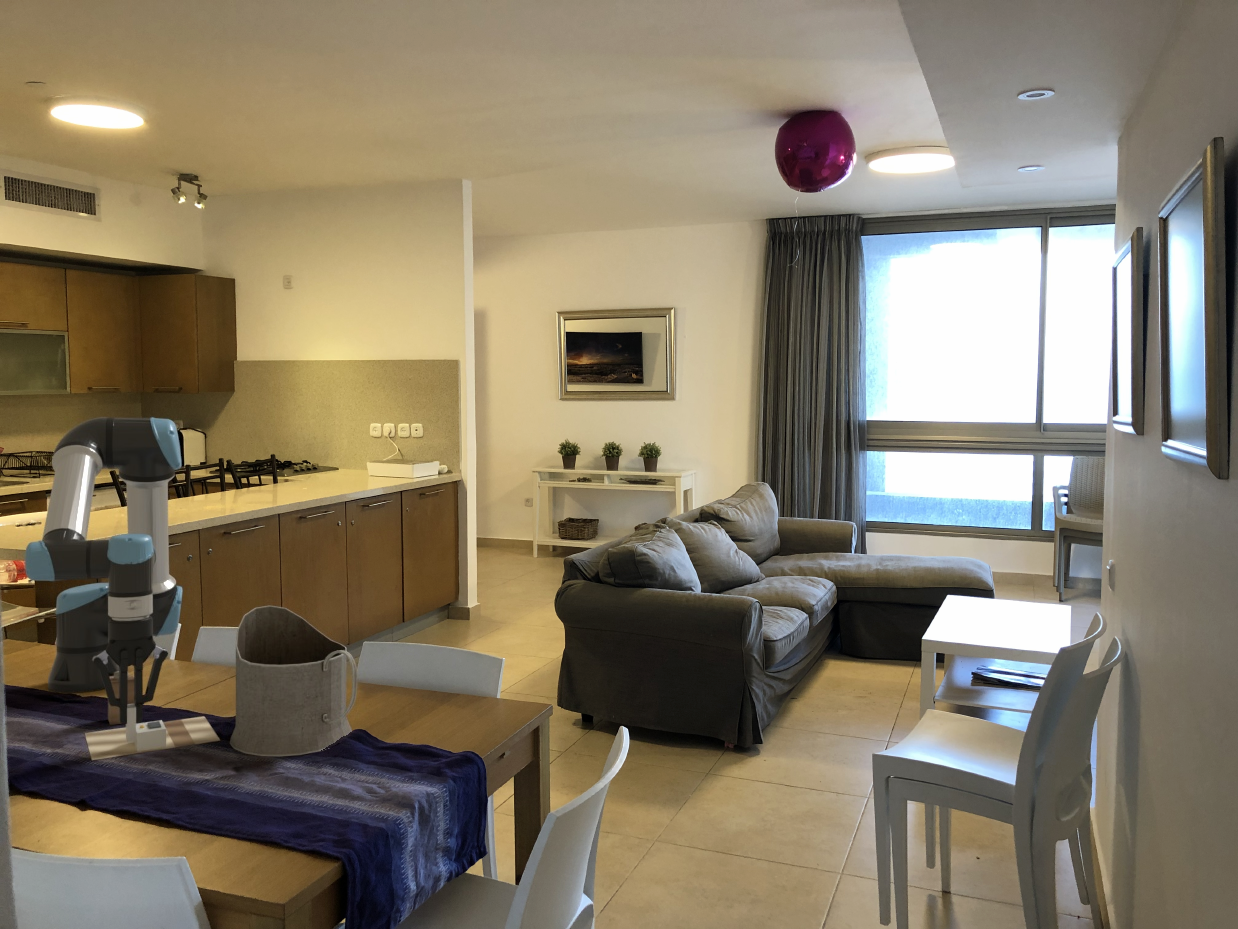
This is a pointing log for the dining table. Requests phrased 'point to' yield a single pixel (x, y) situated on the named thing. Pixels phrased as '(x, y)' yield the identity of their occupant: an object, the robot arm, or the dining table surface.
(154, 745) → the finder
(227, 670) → the dining table surface
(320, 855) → the dining table surface
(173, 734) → the subfloor panel
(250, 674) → the pitcher
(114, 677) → the brown upright block
